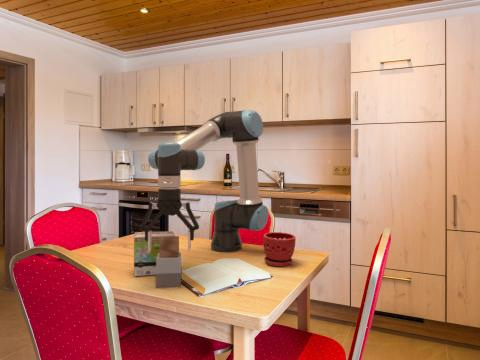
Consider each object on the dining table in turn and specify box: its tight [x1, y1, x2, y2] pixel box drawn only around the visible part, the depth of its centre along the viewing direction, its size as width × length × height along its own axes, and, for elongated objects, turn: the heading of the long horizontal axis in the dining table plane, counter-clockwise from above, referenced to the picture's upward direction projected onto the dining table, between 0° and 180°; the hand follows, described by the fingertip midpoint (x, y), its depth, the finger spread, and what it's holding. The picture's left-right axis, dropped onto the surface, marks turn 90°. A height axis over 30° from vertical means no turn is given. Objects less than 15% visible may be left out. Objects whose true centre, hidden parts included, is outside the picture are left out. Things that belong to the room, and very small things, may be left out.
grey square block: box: [156, 251, 182, 274], centre depth 126 cm, size 8×8×5 cm
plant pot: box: [263, 231, 296, 267], centre depth 151 cm, size 13×13×12 cm
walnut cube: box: [159, 235, 180, 258], centre depth 126 cm, size 6×6×6 cm
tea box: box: [133, 230, 176, 277], centre depth 139 cm, size 15×10×15 cm, turn 106°
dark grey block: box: [155, 265, 183, 289], centre depth 126 cm, size 8×8×5 cm
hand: (169, 250), depth 126 cm, fingers open, 13 cm apart
